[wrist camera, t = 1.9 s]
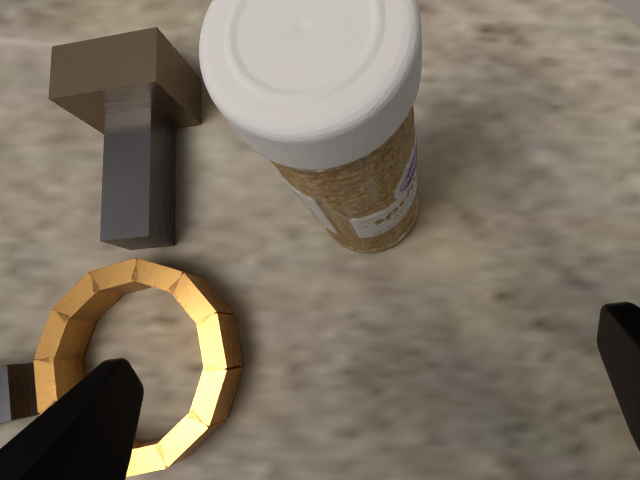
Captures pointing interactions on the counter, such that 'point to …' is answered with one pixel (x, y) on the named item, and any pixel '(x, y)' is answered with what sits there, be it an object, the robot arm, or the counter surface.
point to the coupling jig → (131, 233)
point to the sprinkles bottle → (325, 104)
